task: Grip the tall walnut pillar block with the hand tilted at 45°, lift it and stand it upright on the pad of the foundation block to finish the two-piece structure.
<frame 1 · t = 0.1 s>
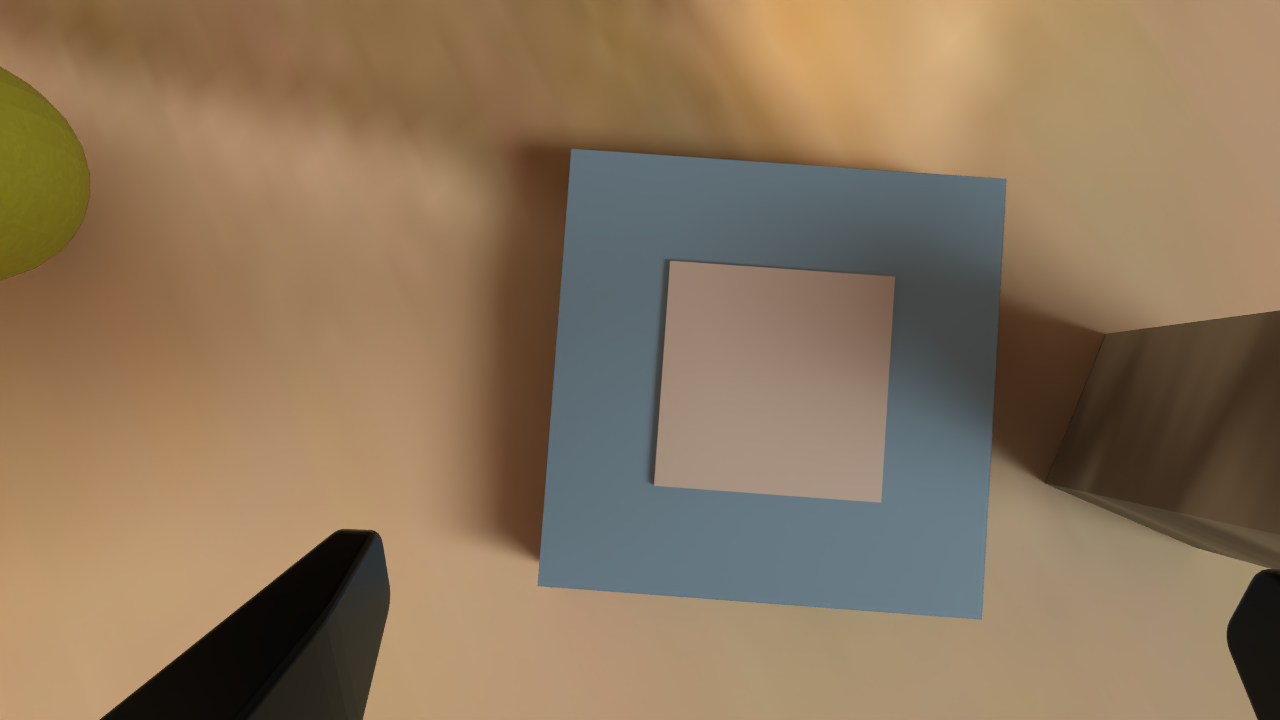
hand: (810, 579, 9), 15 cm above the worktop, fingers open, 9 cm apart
lemon: (59, 205, 24), on the worktop
pillar: (1151, 440, 24), on the worktop
foundation: (761, 382, 24), on the worktop
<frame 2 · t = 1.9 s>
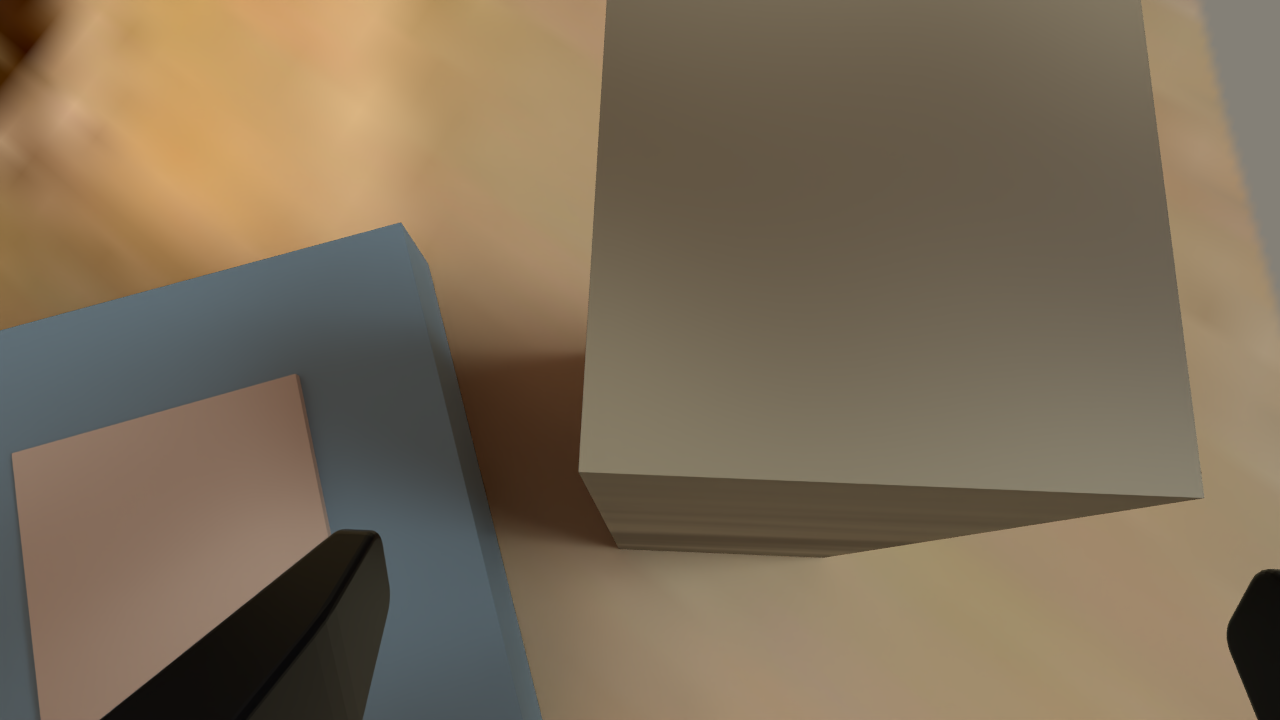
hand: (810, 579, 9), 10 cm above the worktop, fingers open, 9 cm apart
pillar: (723, 451, 19), on the worktop
foundation: (239, 556, 19), on the worktop
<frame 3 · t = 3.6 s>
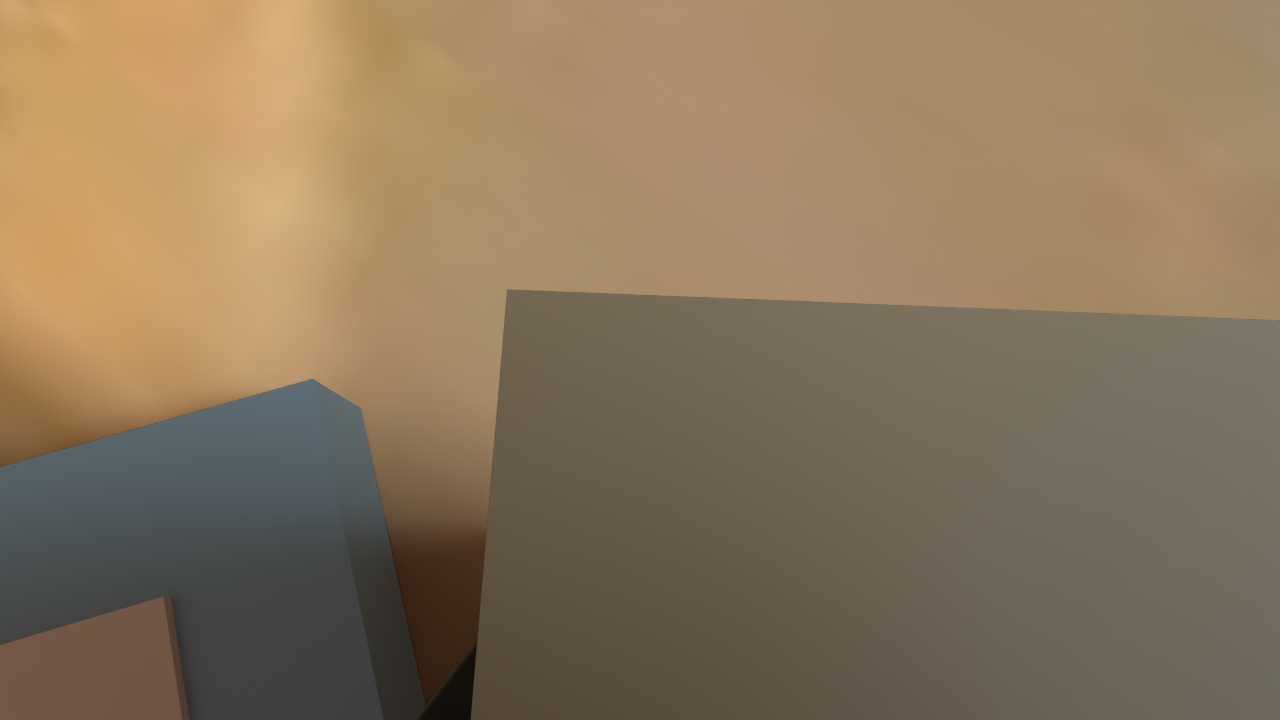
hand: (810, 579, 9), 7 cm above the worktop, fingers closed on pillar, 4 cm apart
pillar: (737, 661, 15), on the worktop, touching gripper
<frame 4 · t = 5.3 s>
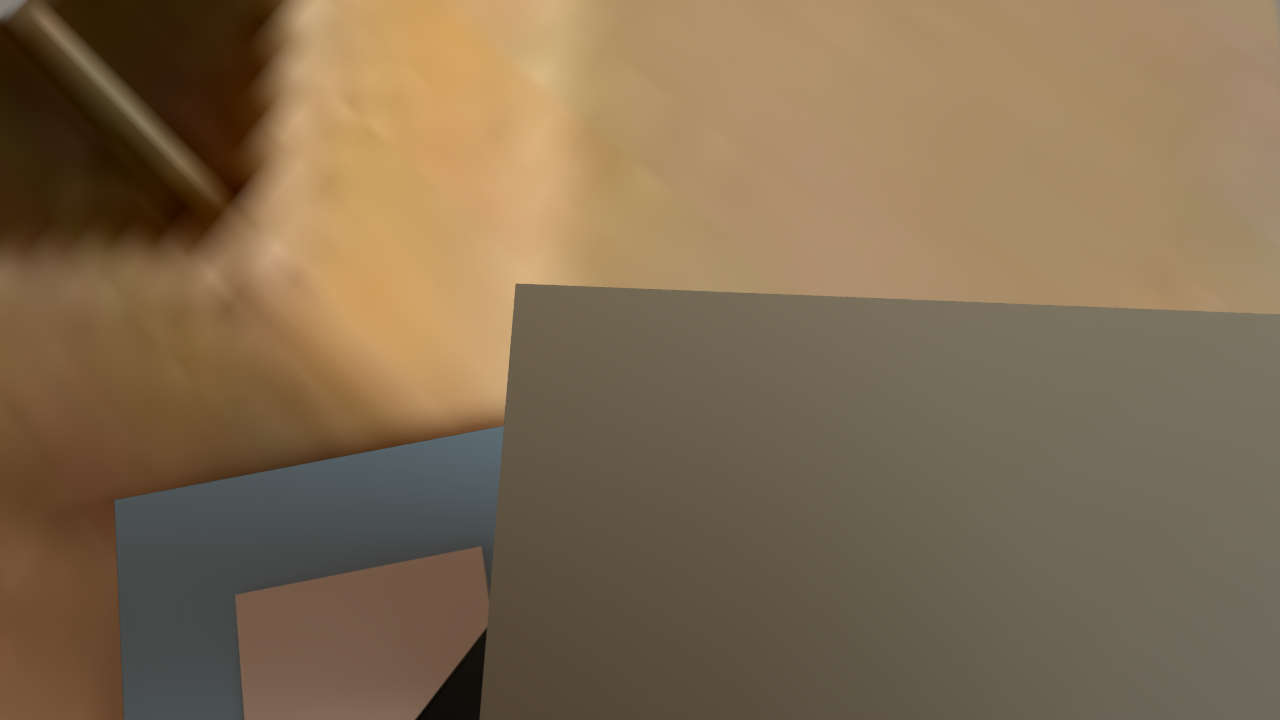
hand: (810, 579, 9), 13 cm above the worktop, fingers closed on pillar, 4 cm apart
pillar: (739, 659, 15), point 7 cm above the worktop, touching gripper
foundation: (404, 684, 21), on the worktop
when the fingers open (10 cm above the worktop, at t = 7.0 s): pillar drops 1 cm, resting on foundation.
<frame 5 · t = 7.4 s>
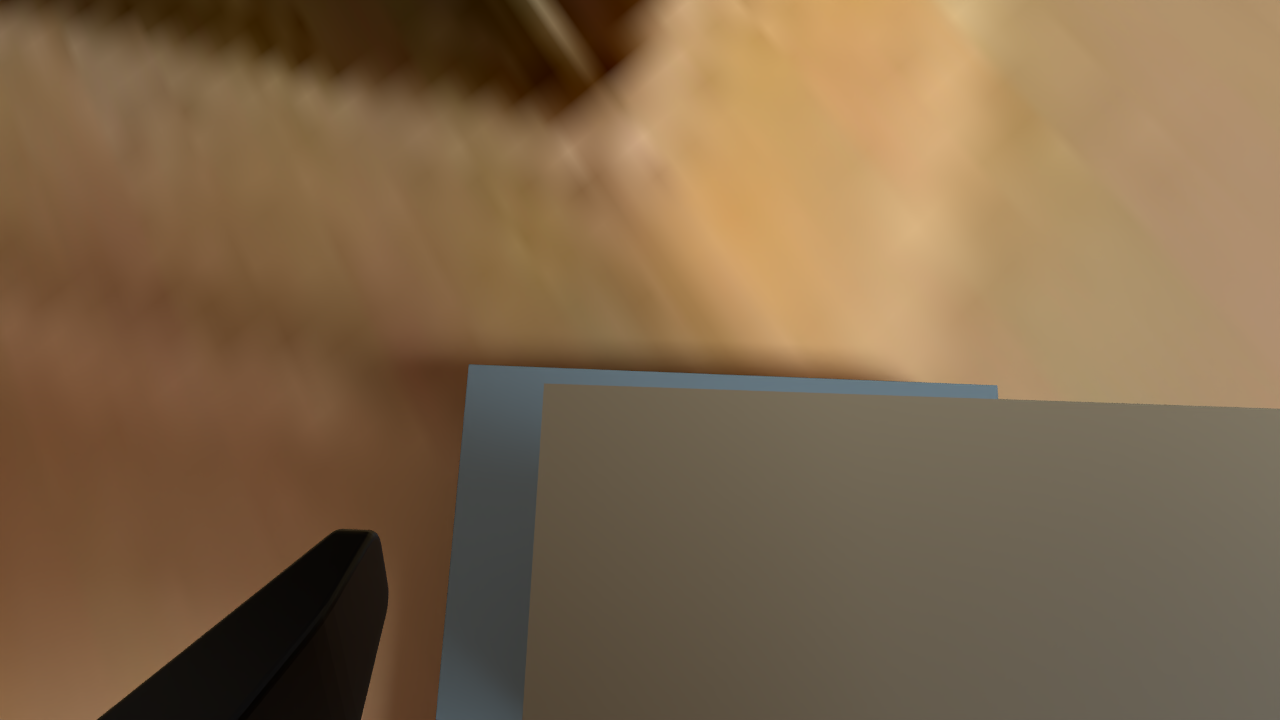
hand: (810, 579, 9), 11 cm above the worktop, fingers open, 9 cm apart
pillar: (729, 653, 16), point 3 cm above the worktop, touching foundation
foundation: (717, 643, 19), on the worktop
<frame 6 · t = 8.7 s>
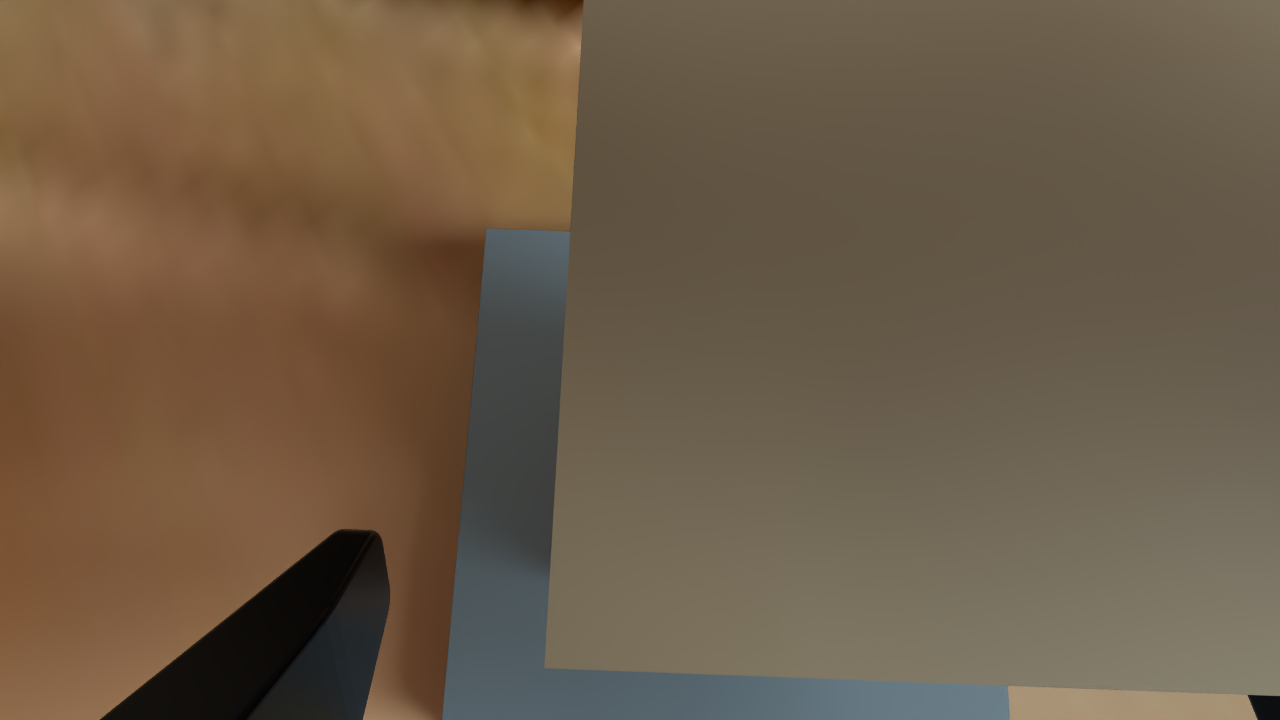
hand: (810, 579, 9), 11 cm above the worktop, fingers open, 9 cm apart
pillar: (730, 485, 17), point 3 cm above the worktop, touching foundation
foundation: (719, 496, 20), on the worktop
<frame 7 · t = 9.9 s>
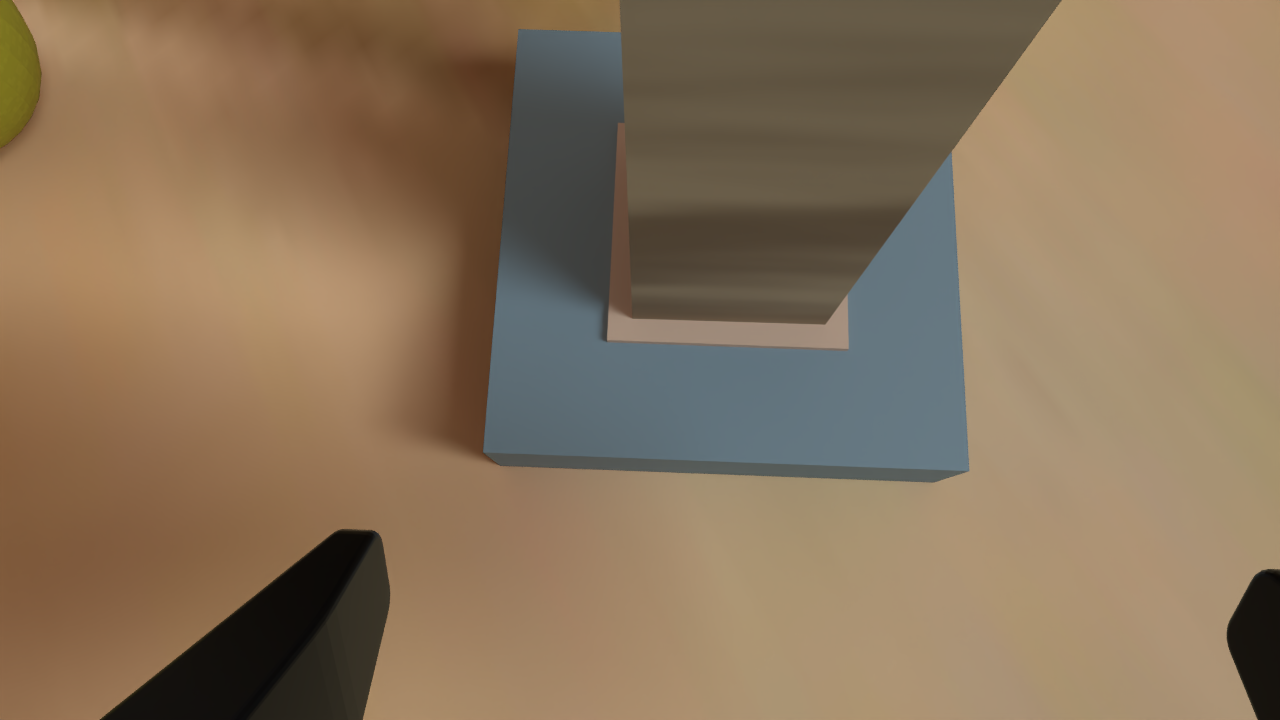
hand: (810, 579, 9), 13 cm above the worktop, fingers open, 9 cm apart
lemon: (10, 128, 24), on the worktop
pillar: (729, 231, 20), point 3 cm above the worktop, touching foundation
foundation: (719, 269, 23), on the worktop
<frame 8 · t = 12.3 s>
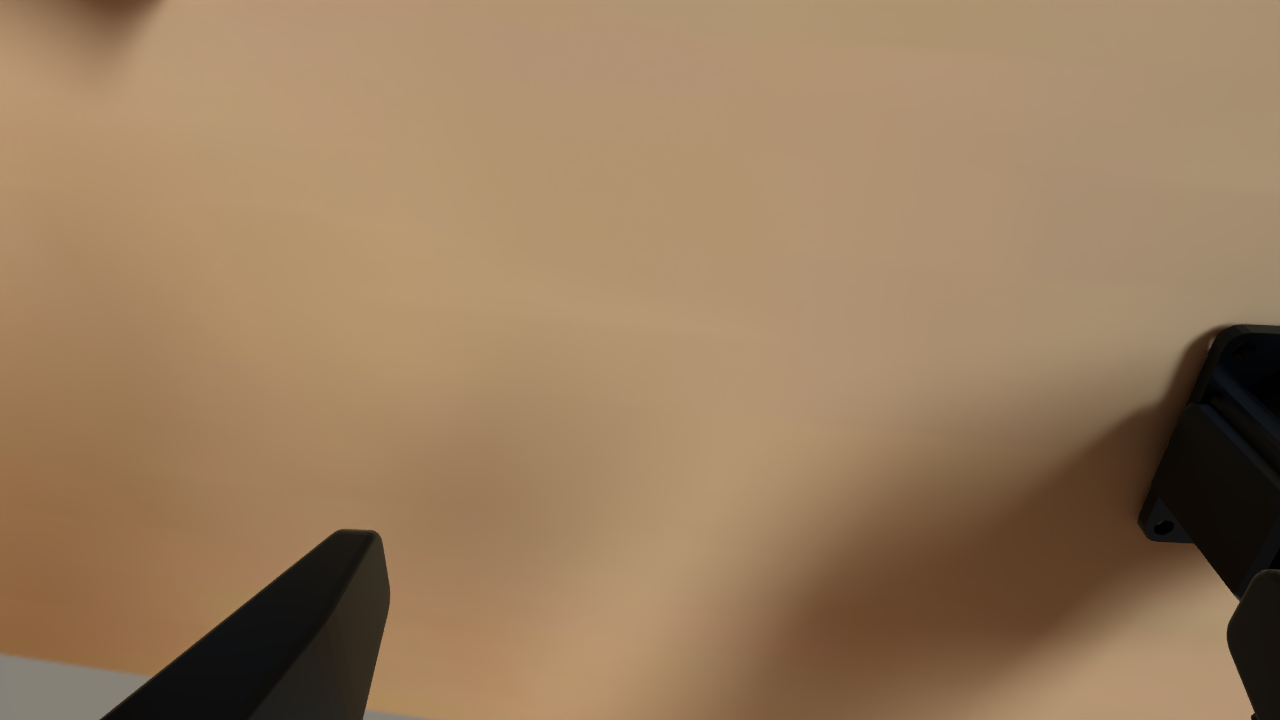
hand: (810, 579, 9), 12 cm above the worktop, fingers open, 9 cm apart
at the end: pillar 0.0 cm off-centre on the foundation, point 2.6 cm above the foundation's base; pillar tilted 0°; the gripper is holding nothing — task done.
